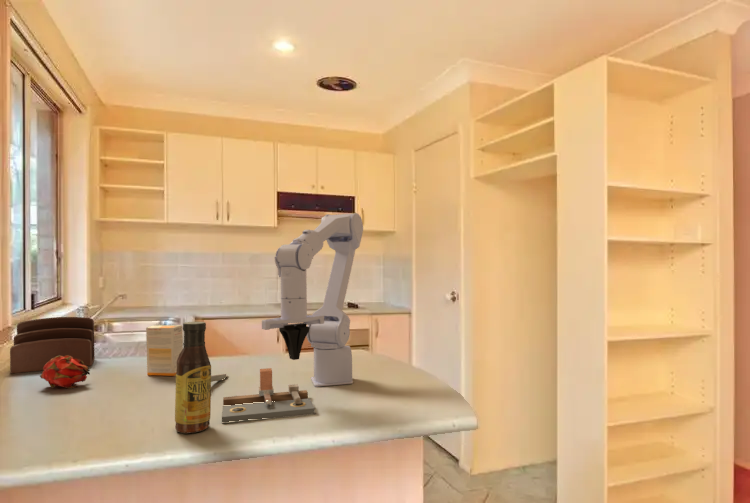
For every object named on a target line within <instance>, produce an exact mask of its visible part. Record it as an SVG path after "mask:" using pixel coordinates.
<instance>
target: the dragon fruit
mask: <svg viewBox="0 0 750 503" xmlns="http://www.w3.org/2000/svg"><path fill="white" fill-rule="evenodd" d="M81 364H82V365H81ZM43 369H44V370H43V371H41V374H40V375H39V377H40V379H43V380H45V381H46V382H48V385H49V386H50V388H51V389H53V388H57V387H62V388H66V389H73V388H76V387H78V385H76V383H81V382H82V383H83V382H85V381H86V380H87V378H88V376H87V375H90V372H91V370H90V369H89V366H85V365H84V362H83V361H81V360H80V359H73V357H71V356H69V355H66V356H64V357H63V356H61V355H59V356H56V357H55V358H52V359H51V360H50V361H49V362H47V363H46V364H45V366H44V367H43ZM74 384H75V385H74Z"/></svg>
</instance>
